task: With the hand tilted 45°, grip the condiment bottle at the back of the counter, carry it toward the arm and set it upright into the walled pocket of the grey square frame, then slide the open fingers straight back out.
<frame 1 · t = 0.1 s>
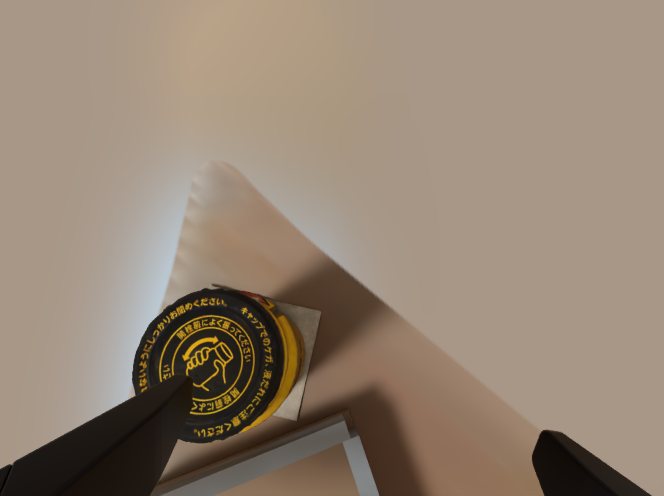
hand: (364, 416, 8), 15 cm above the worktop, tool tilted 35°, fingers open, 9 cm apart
condiment: (251, 349, 23), on the worktop
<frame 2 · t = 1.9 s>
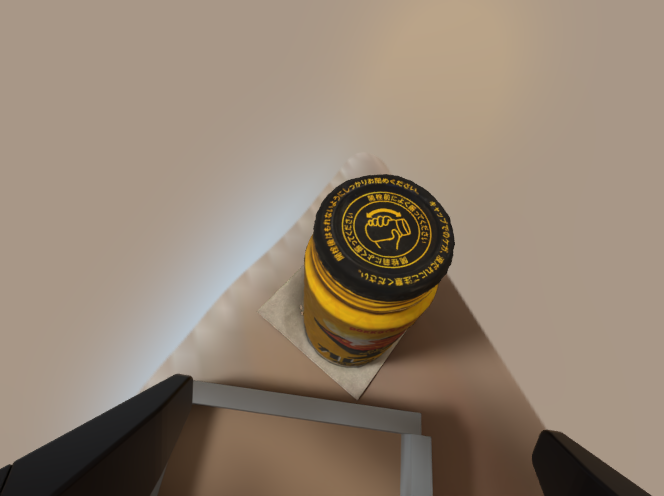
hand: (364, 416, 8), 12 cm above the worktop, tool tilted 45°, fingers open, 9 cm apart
condiment: (339, 313, 23), on the worktop
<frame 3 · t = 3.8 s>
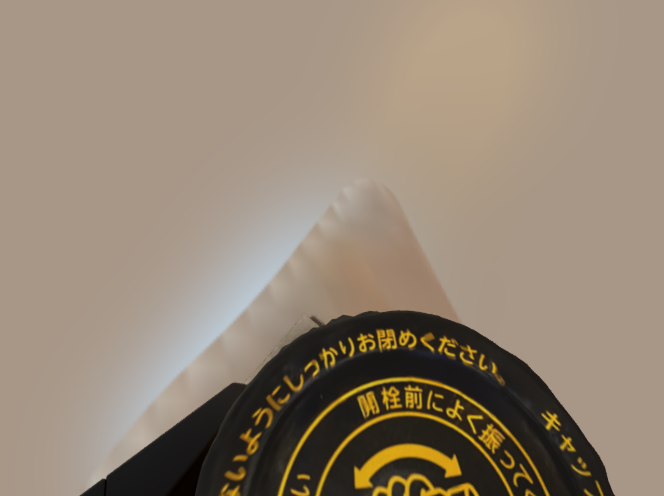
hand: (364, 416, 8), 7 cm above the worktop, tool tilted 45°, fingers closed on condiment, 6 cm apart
condiment: (322, 438, 14), on the worktop, touching gripper
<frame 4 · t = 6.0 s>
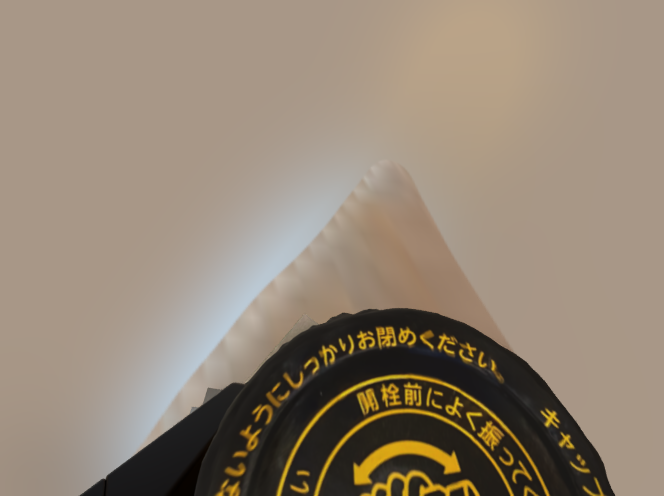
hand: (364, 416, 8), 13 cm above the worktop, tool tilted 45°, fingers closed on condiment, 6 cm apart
condiment: (323, 437, 14), point 6 cm above the worktop, touching gripper
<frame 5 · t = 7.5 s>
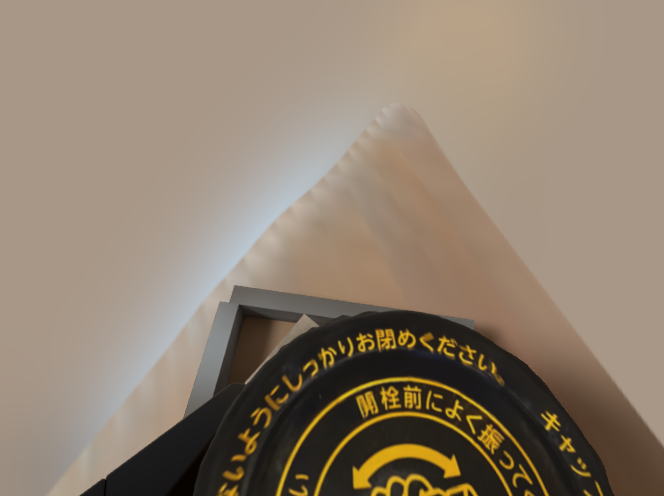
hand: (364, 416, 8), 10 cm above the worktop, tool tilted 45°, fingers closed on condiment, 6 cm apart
condiment: (322, 438, 14), point 3 cm above the worktop, touching gripper
grey square frame: (333, 451, 17), on the worktop
when the fingers open (10 cm above the worktop, at t = 8.2 s): condiment stays where it is, resting on grey square frame.
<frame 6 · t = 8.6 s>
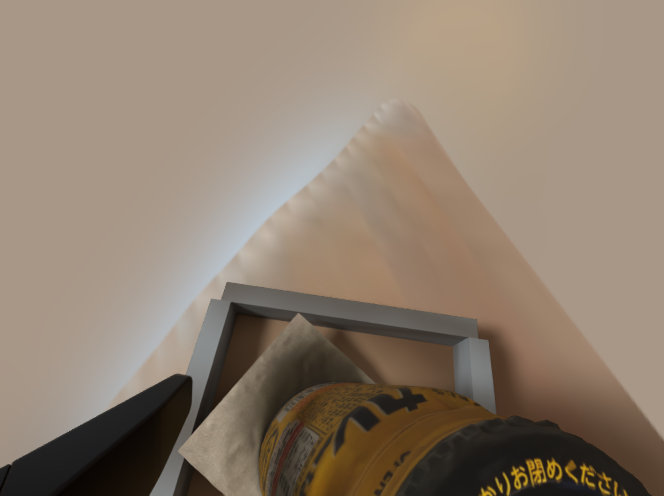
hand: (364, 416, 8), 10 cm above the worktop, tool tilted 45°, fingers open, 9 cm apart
condiment: (313, 438, 15), point 2 cm above the worktop, touching grey square frame, gripper
grey square frame: (329, 456, 16), on the worktop
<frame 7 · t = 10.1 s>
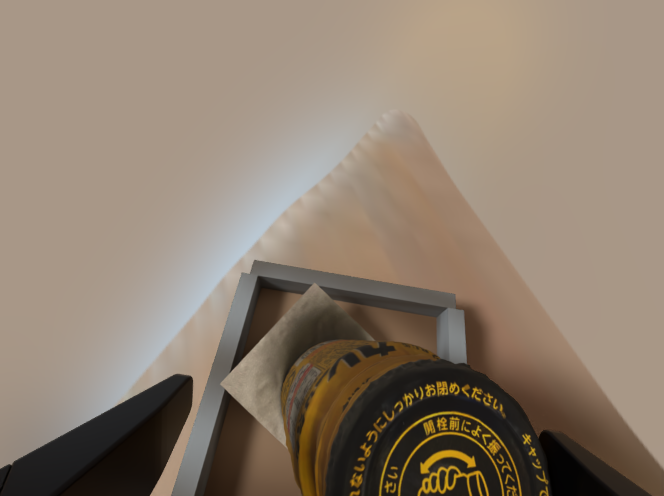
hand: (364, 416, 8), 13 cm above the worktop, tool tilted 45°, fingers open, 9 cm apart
condiment: (324, 382, 18), point 2 cm above the worktop, touching grey square frame, gripper
grey square frame: (334, 400, 20), on the worktop
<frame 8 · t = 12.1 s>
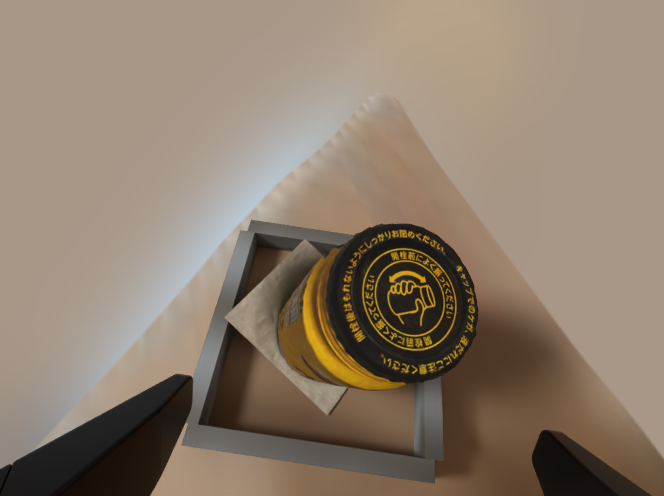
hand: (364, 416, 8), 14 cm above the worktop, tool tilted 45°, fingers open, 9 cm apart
condiment: (313, 321, 21), point 2 cm above the worktop, touching grey square frame
grey square frame: (324, 340, 23), on the worktop
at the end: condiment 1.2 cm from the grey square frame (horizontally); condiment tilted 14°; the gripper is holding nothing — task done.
